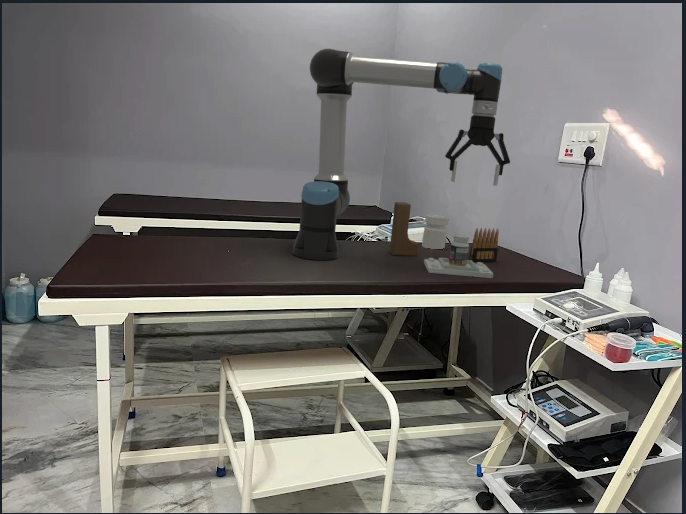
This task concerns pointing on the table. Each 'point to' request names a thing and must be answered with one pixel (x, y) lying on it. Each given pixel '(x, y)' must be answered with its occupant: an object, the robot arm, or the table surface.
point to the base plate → (457, 268)
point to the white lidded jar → (435, 231)
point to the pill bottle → (459, 251)
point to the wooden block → (402, 232)
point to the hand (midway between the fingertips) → (473, 183)
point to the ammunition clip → (484, 246)
